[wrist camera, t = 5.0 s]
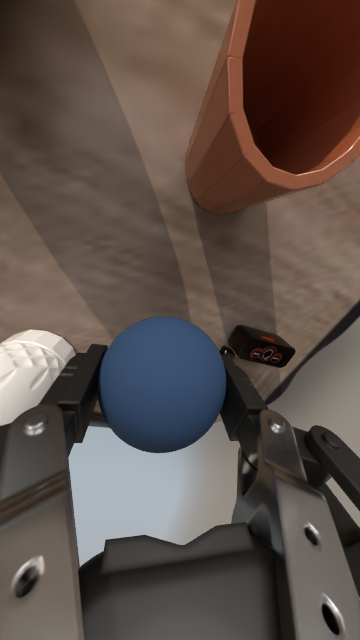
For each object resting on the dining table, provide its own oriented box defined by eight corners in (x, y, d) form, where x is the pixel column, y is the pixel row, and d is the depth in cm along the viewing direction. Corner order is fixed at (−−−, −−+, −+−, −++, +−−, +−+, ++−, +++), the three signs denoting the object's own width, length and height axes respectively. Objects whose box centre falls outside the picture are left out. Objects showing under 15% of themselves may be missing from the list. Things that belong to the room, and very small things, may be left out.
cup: (178, 204, 14) (205, 162, 6) (195, 97, 12) (282, -221, 3) (245, 221, 15) (342, 206, 7) (274, 128, 13) (476, -57, 5)
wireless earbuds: (229, 320, 20) (242, 334, 17) (278, 334, 21) (297, 349, 18) (213, 351, 21) (222, 369, 19) (260, 362, 23) (274, 380, 20)
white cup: (91, 377, 21) (42, 481, 12) (22, 385, 20) (-83, 502, 11) (69, 320, 17) (-23, 409, 8) (-15, 327, 17) (-210, 432, 8)
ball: (111, 374, 13) (75, 490, 7) (116, 291, 10) (63, 366, 4) (194, 379, 14) (221, 479, 8) (217, 307, 11) (282, 380, 6)
